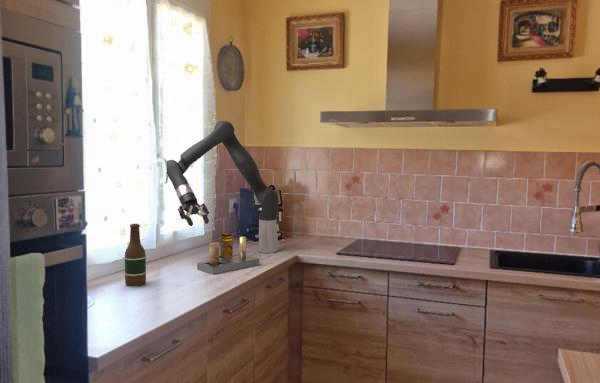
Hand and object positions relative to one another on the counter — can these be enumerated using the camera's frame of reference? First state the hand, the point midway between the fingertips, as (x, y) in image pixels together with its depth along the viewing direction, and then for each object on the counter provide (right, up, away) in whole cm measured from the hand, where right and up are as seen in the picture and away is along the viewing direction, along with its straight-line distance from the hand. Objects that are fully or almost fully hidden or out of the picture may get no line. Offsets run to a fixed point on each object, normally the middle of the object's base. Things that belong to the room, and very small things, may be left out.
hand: (199, 224), depth 219 cm
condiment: (+9, -18, +17) cm, 27 cm away
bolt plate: (+14, -19, -3) cm, 24 cm away
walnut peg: (+8, -20, -9) cm, 23 cm away
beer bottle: (-18, -22, -33) cm, 43 cm away
